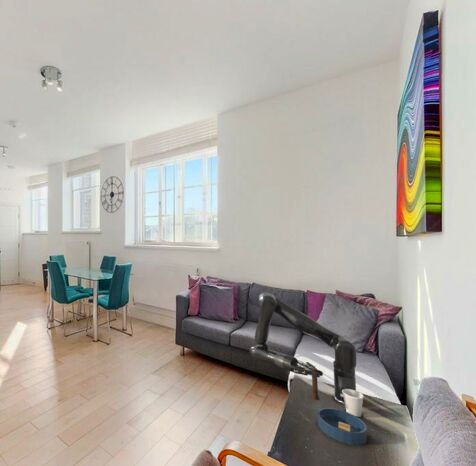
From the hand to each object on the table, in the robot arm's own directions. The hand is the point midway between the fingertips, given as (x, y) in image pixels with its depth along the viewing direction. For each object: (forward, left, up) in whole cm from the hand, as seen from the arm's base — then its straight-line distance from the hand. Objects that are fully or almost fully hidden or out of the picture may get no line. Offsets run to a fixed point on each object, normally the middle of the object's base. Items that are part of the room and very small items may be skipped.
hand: (320, 374), depth 137 cm
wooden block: (+7, +12, -20) cm, 24 cm away
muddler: (0, -3, -13) cm, 13 cm away
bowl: (+5, +10, -20) cm, 23 cm away
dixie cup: (-15, +7, -20) cm, 26 cm away
